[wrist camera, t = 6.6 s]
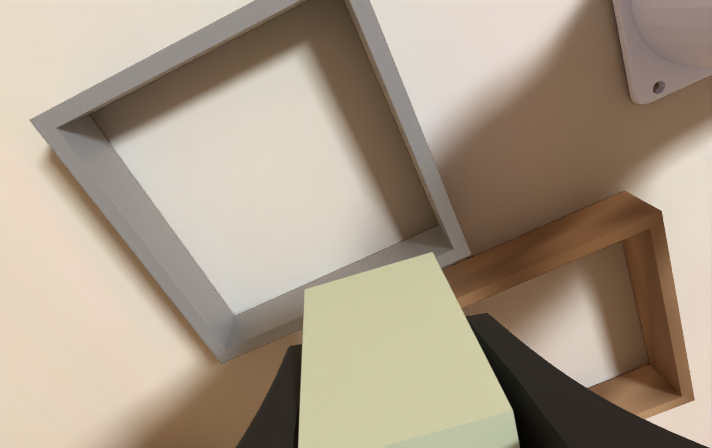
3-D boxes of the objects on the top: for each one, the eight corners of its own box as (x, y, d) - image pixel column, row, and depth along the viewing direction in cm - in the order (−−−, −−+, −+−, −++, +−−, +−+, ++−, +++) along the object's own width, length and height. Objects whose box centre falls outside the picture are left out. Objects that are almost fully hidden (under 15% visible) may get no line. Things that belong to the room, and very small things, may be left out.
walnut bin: (624, 190, 21) (661, 210, 19) (661, 367, 26) (694, 400, 24) (389, 293, 22) (397, 323, 20) (466, 442, 27) (480, 480, 25)
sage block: (456, 352, 15) (537, 540, 10) (342, 384, 15) (357, 586, 10) (432, 252, 13) (513, 410, 8) (304, 289, 14) (297, 469, 8)
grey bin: (344, -40, 16) (349, -50, 14) (455, 229, 21) (471, 254, 19) (66, 107, 18) (29, 120, 15) (230, 329, 23) (221, 363, 20)
